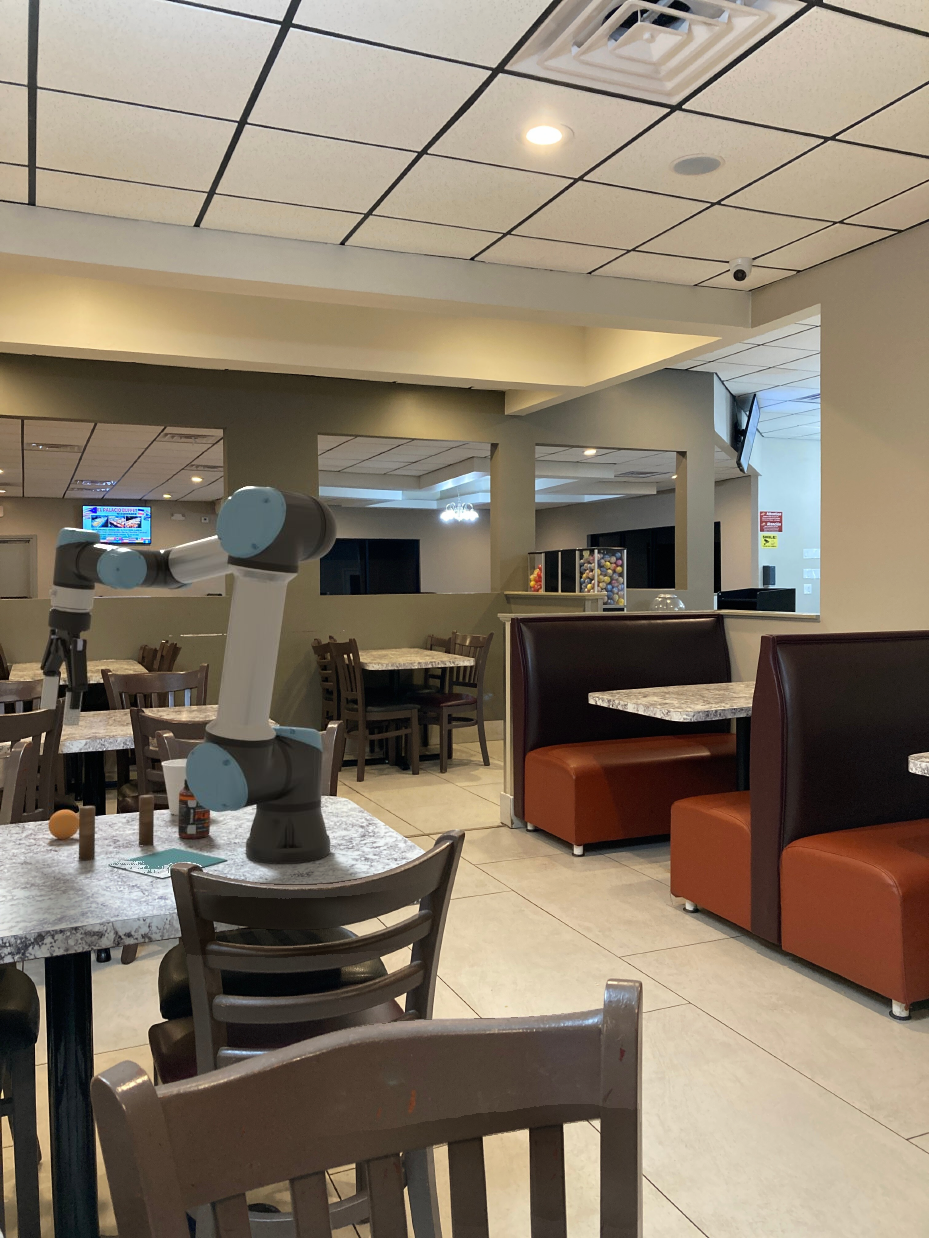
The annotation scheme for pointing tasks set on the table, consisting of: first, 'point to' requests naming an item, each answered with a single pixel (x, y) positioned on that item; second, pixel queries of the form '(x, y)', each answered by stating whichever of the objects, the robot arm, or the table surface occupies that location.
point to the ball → (64, 824)
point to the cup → (174, 781)
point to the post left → (86, 832)
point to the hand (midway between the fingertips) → (58, 716)
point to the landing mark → (173, 859)
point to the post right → (146, 820)
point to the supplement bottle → (192, 816)
